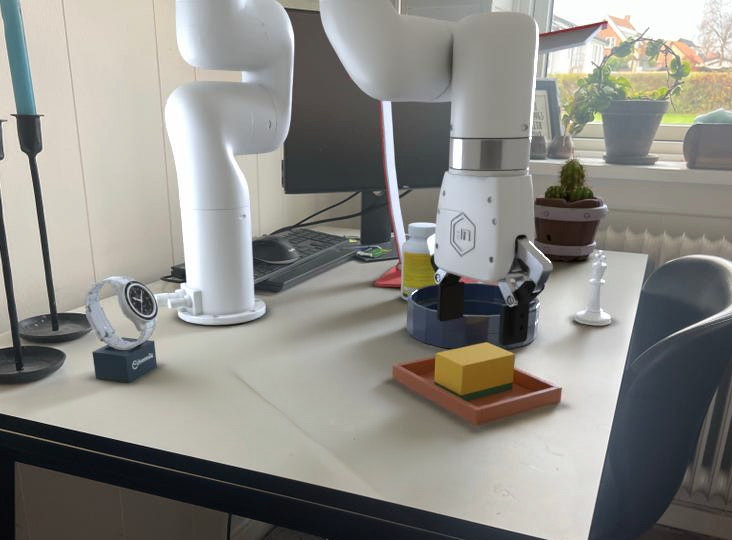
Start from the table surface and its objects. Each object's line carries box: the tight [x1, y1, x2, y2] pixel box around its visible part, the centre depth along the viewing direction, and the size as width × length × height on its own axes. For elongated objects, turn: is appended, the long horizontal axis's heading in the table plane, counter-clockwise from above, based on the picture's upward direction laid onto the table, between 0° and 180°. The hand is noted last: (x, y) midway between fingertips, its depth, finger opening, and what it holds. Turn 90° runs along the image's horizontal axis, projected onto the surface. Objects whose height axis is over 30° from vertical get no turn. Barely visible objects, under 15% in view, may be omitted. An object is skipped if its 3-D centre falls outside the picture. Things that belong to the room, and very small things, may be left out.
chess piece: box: [574, 250, 612, 327], centre depth 99 cm, size 5×5×10 cm
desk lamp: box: [349, 20, 609, 288], centre depth 116 cm, size 18×38×40 cm, turn 72°
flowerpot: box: [534, 153, 610, 262], centre depth 139 cm, size 14×15×20 cm
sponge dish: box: [391, 355, 563, 426], centre depth 75 cm, size 11×14×2 cm
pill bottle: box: [400, 222, 437, 302], centre depth 109 cm, size 6×6×12 cm
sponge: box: [434, 342, 516, 401], centre depth 75 cm, size 7×4×4 cm, turn 121°
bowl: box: [406, 283, 541, 350], centre depth 94 cm, size 17×17×5 cm
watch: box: [84, 275, 159, 384], centre depth 79 cm, size 6×8×11 cm
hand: (479, 330), depth 73 cm, fingers open, 9 cm apart
